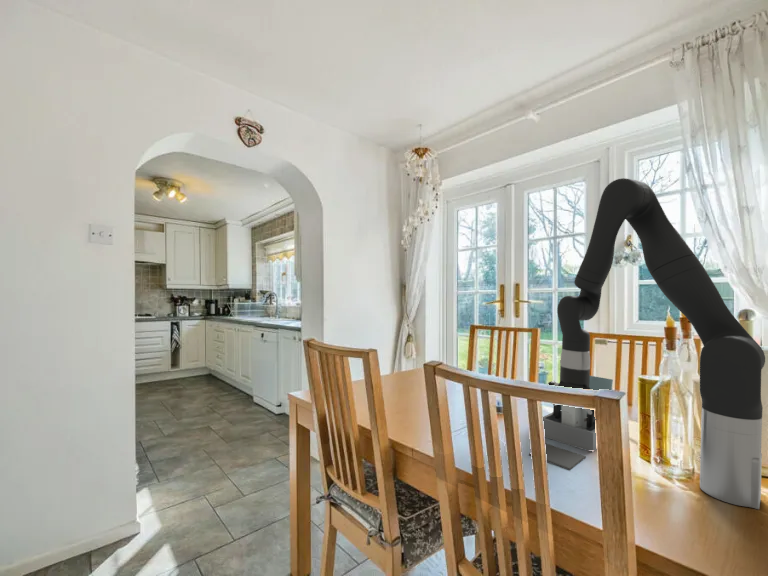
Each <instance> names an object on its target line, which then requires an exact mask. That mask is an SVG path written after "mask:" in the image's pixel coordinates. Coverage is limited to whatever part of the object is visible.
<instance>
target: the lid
mask: <svg viewBox="0 0 768 576" xmlns="http://www.w3.org/2000/svg"><path fill="white" fill-rule="evenodd" d="M613 382H614V379H611V378H607V377H599V376H594V375H590V381H589V388H590V389H593V390H599V389H609V390H612V391H613ZM561 411H562V405H561ZM587 414H588V412H587ZM594 419H595V418H594ZM595 420H596V419H595Z"/></svg>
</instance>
